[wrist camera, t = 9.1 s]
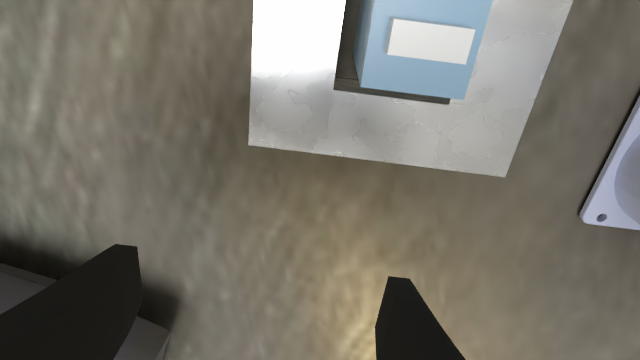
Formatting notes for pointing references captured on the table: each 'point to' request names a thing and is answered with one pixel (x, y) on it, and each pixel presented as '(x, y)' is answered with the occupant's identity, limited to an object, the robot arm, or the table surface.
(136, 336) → the bluetooth speaker
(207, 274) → the table surface
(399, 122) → the grey socket board
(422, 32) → the plug
